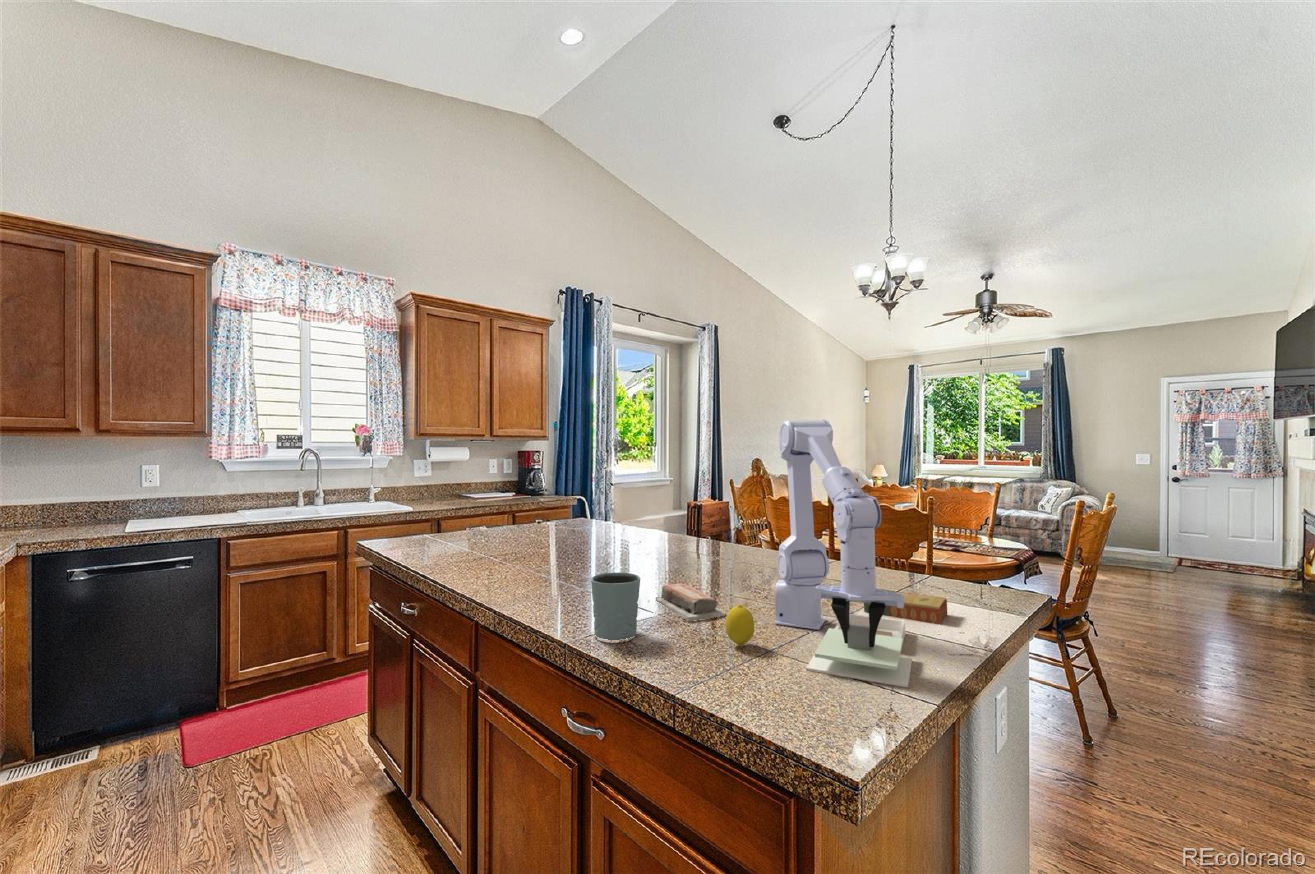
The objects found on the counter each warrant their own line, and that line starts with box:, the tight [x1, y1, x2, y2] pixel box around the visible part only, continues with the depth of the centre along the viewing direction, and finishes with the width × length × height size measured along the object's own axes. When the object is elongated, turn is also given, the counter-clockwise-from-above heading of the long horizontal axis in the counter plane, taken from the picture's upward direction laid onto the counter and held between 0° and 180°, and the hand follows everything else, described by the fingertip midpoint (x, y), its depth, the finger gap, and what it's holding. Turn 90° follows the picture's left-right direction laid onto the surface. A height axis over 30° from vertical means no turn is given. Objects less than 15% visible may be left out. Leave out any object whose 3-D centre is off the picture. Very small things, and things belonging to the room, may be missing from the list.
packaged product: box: [655, 582, 727, 621], centre depth 132 cm, size 18×5×10 cm
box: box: [834, 613, 906, 652], centre depth 110 cm, size 12×12×2 cm
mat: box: [805, 653, 913, 688], centre depth 97 cm, size 16×12×1 cm
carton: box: [863, 588, 948, 625], centre depth 125 cm, size 8×16×4 cm, turn 53°
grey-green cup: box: [590, 572, 641, 640], centre depth 114 cm, size 10×10×12 cm
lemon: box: [725, 604, 755, 647], centre depth 107 cm, size 6×6×8 cm
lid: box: [814, 624, 904, 670], centre depth 97 cm, size 13×13×4 cm
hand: (859, 643), depth 97 cm, fingers closed on lid, 3 cm apart
